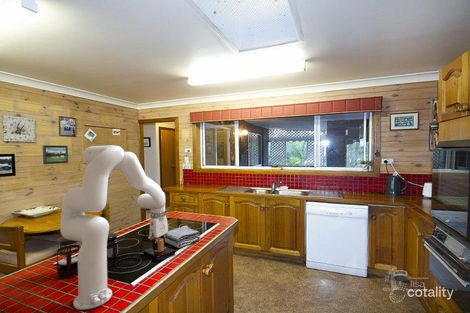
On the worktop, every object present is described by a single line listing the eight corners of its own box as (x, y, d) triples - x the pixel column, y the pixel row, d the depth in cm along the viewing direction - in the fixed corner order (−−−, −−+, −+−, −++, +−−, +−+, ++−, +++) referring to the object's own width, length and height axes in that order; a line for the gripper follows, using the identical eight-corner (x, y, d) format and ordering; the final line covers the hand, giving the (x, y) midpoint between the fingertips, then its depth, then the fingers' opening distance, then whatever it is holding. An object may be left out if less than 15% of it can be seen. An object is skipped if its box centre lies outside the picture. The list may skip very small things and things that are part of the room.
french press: (54, 281, 104) (53, 229, 104) (55, 273, 112) (54, 224, 112) (85, 274, 111) (84, 224, 111) (84, 266, 119) (84, 220, 119)
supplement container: (116, 252, 135) (116, 231, 135) (119, 258, 127) (119, 236, 127) (95, 257, 130) (94, 235, 130) (97, 264, 121) (96, 240, 121)
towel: (163, 243, 147) (162, 231, 147) (186, 235, 162) (186, 224, 162) (178, 249, 138) (178, 236, 138) (201, 240, 152) (201, 228, 152)
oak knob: (160, 247, 134) (160, 236, 134) (165, 250, 131) (165, 238, 131) (152, 250, 131) (152, 239, 131) (157, 252, 127) (156, 241, 127)
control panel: (174, 255, 130) (174, 250, 130) (156, 262, 122) (156, 256, 122) (161, 248, 140) (161, 244, 140) (143, 254, 132) (143, 249, 132)
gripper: (152, 219, 122) (153, 254, 122) (173, 211, 137) (174, 243, 137) (141, 217, 124) (142, 252, 125) (163, 210, 140) (163, 241, 140)
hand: (158, 247), depth 131 cm, fingers closed on oak knob, 5 cm apart
